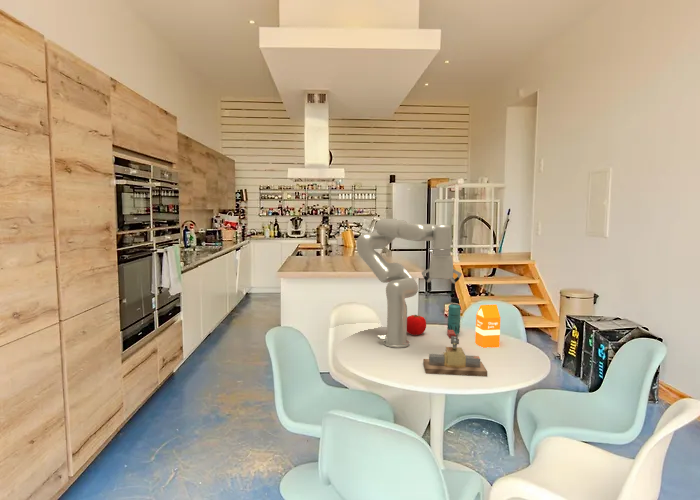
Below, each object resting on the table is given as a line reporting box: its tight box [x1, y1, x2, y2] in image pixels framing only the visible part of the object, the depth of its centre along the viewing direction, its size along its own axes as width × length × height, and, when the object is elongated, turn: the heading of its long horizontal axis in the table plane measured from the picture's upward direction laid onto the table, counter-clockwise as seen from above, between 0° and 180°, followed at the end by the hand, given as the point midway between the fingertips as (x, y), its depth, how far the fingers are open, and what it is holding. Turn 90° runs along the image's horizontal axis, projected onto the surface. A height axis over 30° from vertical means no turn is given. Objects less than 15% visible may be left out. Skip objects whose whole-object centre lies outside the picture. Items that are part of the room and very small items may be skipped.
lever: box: [446, 329, 460, 346], centre depth 186 cm, size 3×16×3 cm, turn 175°
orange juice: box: [474, 304, 502, 349], centre depth 214 cm, size 8×9×20 cm
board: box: [422, 358, 488, 377], centre depth 180 cm, size 24×12×2 cm, turn 85°
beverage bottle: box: [446, 297, 462, 335], centre depth 230 cm, size 6×7×20 cm
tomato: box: [407, 314, 427, 336], centre depth 233 cm, size 12×12×10 cm
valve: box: [428, 344, 481, 368], centre depth 180 cm, size 20×6×9 cm, turn 85°
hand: (441, 291), depth 194 cm, fingers open, 9 cm apart
